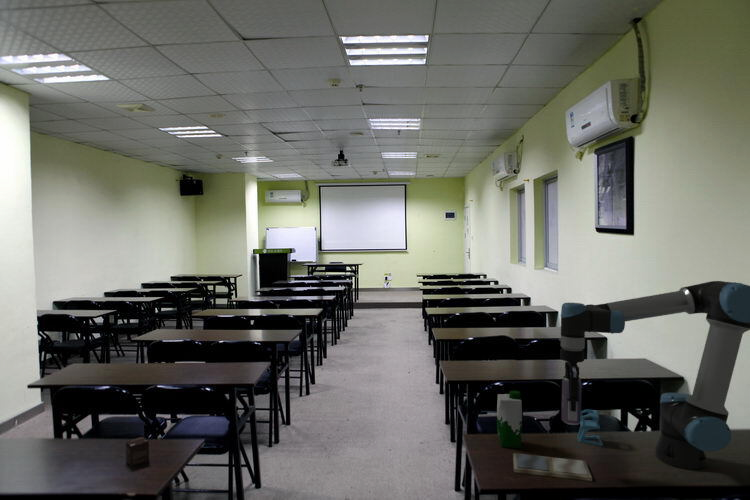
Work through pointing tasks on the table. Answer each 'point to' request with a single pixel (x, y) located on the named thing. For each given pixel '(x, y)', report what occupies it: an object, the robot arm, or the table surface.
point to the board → (551, 467)
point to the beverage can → (565, 403)
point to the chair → (589, 427)
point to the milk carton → (509, 419)
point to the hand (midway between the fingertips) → (570, 416)
